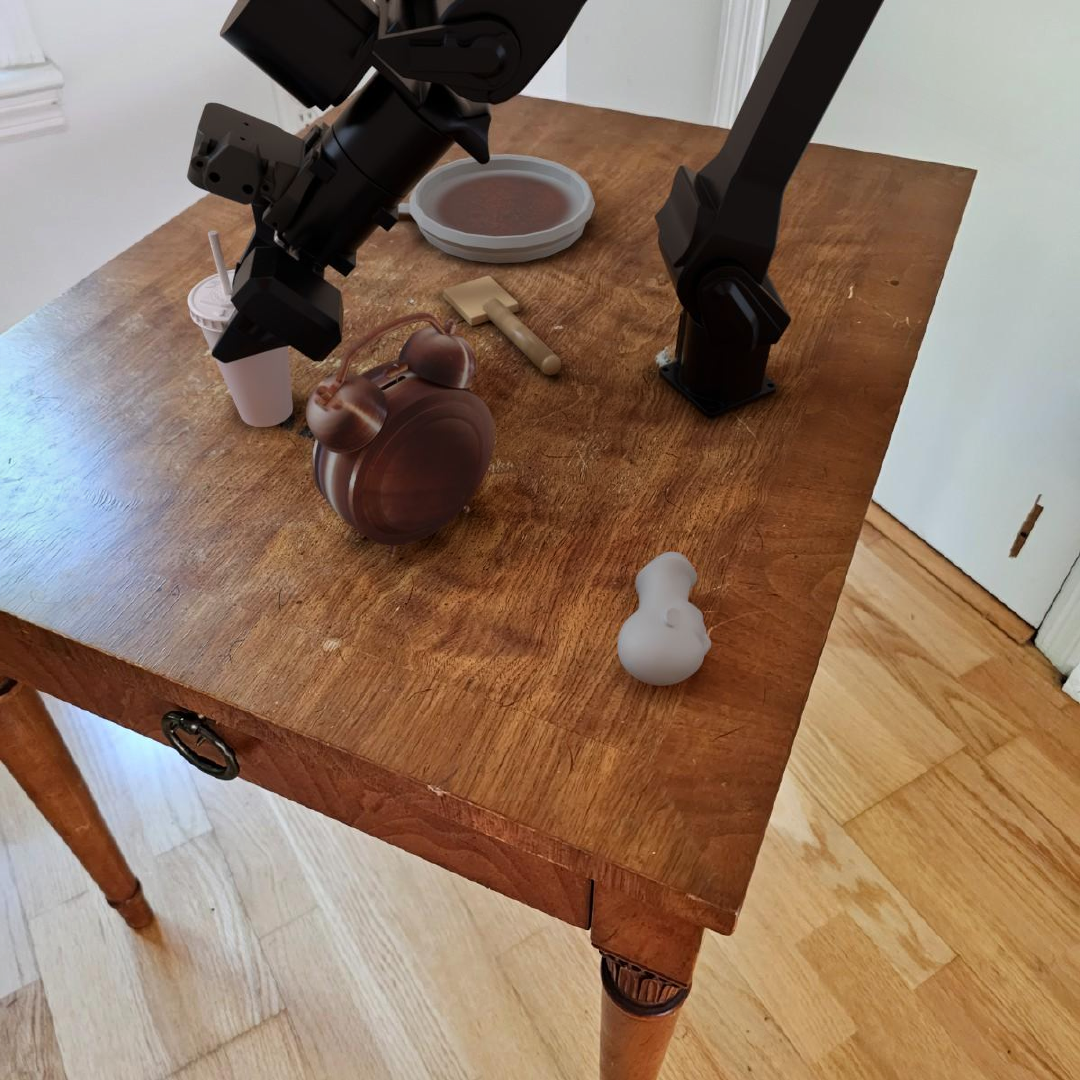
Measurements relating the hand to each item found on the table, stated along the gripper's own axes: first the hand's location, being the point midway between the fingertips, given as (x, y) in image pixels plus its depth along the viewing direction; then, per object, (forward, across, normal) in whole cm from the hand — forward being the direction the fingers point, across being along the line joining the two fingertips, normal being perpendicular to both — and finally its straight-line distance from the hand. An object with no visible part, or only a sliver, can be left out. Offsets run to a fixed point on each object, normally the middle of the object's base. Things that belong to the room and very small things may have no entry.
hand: (224, 327), depth 64 cm
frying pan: (-6, -27, +16) cm, 32 cm away
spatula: (-9, -8, +19) cm, 22 cm away
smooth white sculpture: (-13, +24, +24) cm, 36 cm away
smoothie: (+4, 0, +6) cm, 7 cm away
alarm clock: (-3, +13, +14) cm, 19 cm away
